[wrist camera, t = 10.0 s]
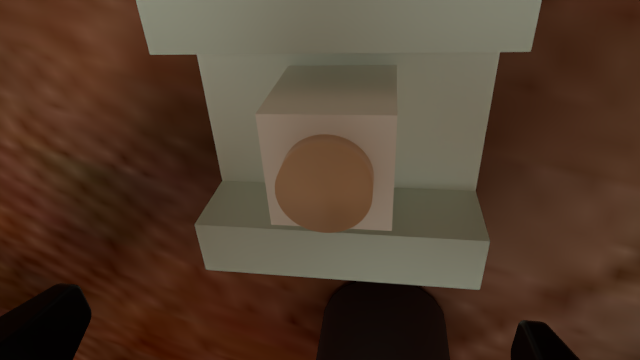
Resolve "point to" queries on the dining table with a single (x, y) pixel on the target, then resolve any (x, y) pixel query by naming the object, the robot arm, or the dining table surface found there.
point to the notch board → (412, 125)
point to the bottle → (382, 324)
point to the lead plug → (330, 147)
